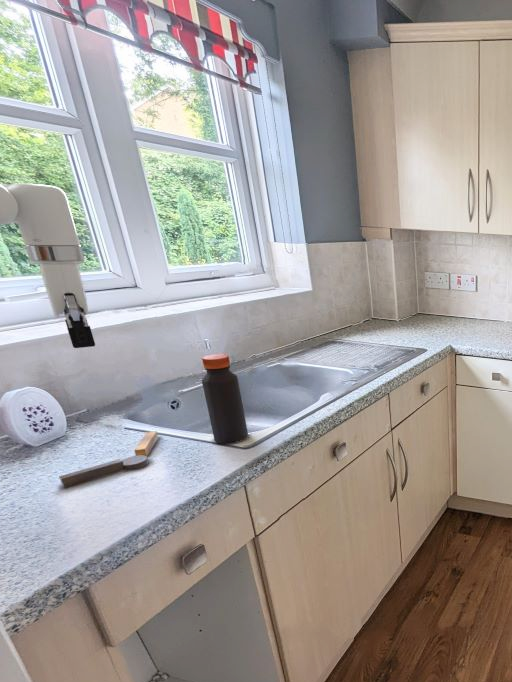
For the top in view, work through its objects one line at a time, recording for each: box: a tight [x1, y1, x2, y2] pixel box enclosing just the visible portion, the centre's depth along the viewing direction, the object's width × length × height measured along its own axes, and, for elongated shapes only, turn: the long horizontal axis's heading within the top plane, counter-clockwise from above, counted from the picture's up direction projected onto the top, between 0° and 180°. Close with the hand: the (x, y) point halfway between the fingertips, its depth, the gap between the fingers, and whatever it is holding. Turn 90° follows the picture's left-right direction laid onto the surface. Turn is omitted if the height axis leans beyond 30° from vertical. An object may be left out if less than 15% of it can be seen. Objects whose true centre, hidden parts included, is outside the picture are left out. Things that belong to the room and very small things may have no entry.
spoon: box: [58, 455, 149, 489], centre depth 90 cm, size 13×4×2 cm, turn 146°
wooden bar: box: [134, 430, 159, 457], centre depth 101 cm, size 10×2×2 cm, turn 26°
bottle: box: [201, 353, 249, 445], centre depth 104 cm, size 7×7×20 cm
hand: (83, 342), depth 93 cm, fingers open, 9 cm apart
